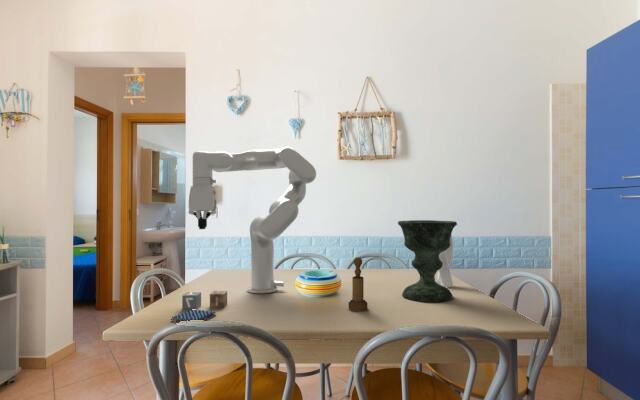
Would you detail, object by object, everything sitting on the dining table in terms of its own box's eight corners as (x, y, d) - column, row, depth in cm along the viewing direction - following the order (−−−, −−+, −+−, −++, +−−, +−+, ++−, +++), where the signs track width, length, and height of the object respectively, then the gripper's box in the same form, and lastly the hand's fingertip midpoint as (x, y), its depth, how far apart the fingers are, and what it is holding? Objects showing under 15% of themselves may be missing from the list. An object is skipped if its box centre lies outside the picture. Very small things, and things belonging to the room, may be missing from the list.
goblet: (402, 289, 164) (401, 219, 164) (457, 293, 156) (457, 220, 157) (393, 301, 143) (393, 222, 144) (457, 306, 136) (456, 222, 136)
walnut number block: (227, 304, 140) (227, 290, 140) (223, 308, 134) (223, 293, 134) (213, 304, 139) (213, 290, 140) (209, 308, 134) (209, 293, 134)
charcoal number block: (201, 306, 137) (201, 291, 138) (196, 310, 132) (196, 295, 132) (187, 306, 138) (187, 291, 138) (182, 310, 132) (182, 295, 132)
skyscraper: (443, 284, 175) (442, 223, 176) (457, 287, 168) (457, 224, 169) (430, 286, 171) (429, 224, 171) (444, 289, 164) (443, 225, 164)
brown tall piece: (355, 312, 128) (354, 259, 129) (345, 308, 134) (344, 257, 134) (371, 310, 131) (370, 258, 132) (360, 305, 137) (360, 255, 137)
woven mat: (190, 314, 129) (190, 308, 129) (217, 317, 125) (217, 310, 125) (168, 323, 119) (168, 316, 119) (197, 326, 115) (197, 320, 115)
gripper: (223, 183, 154) (223, 228, 154) (187, 183, 154) (186, 228, 154) (218, 182, 147) (218, 229, 147) (180, 182, 147) (180, 229, 147)
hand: (202, 228), depth 150 cm, fingers closed
